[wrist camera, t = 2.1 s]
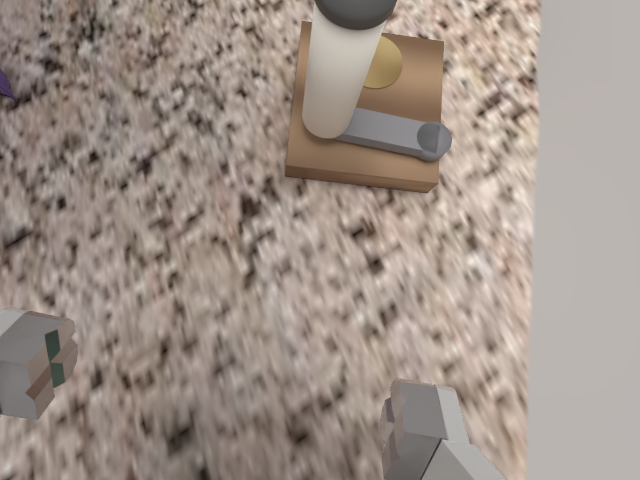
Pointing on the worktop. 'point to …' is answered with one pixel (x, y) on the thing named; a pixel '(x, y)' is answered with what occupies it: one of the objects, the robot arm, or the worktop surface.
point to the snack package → (5, 86)
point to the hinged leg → (357, 83)
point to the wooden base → (380, 96)
